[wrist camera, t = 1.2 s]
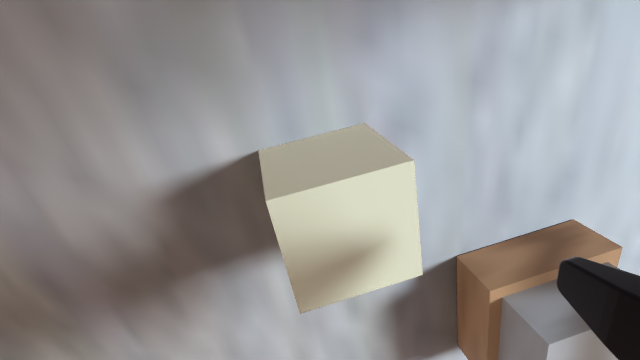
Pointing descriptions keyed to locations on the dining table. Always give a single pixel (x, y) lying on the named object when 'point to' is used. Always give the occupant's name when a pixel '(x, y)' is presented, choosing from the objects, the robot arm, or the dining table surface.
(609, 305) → the robot arm
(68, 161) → the dining table surface
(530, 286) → the tower base
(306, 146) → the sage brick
